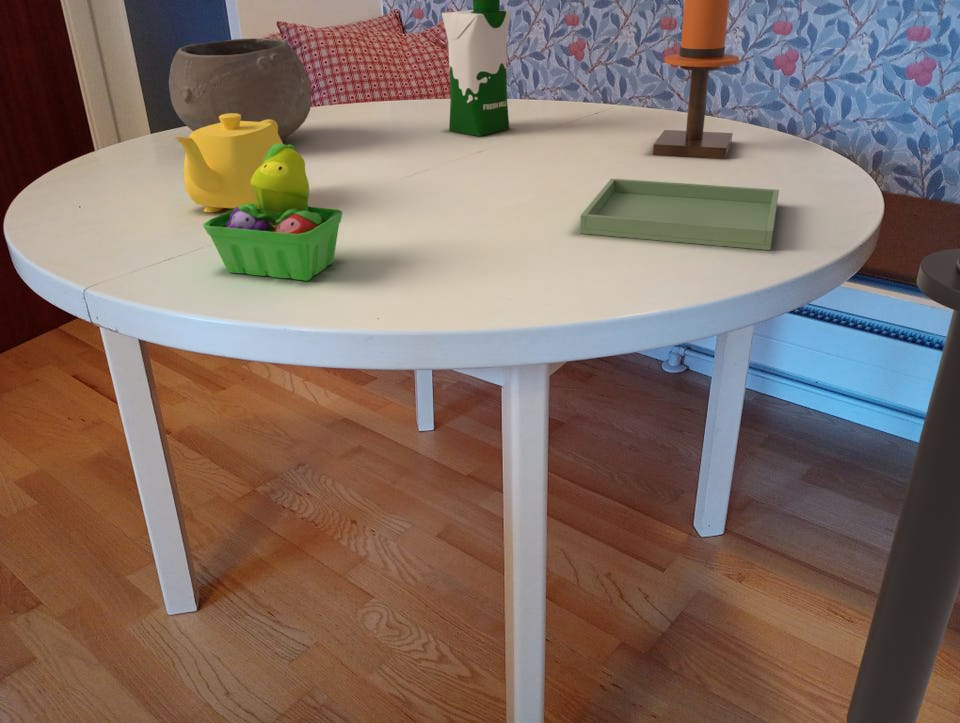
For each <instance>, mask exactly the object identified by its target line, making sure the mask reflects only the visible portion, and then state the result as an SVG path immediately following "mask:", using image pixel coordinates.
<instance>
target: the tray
mask: <svg viewBox="0 0 960 723" xmlns="http://www.w3.org/2000/svg"><path fill="white" fill-rule="evenodd" d="M599 191H600V192H598V194H597V195H596V196H595V198H593V200H592V201H591V202H590V203H589V205H588V206H587V207H585V208H586V209H585V210H584V211H583V212H582V213H581V214H580V221H579V222H580V224H579V225H580V226H579V227H580V228H579V233H580V234H583V235H594V236H606V237H617V238H628V239H639V240H651V241H659V242H661V241H662V242H673V243H683V244H693V245H694V244H695V245H707V246H716V247H717V246H719V247H729V248H738V249H740V248H741V249H749V250H752V249H753V250H763V251H771V248H772V241H773V236H774V235H773V234H774V230H775V222H776V214H777V209H778V208H777V207H778V200H779V193H780V189H773V188H759V187H745V186H743V187H742V186H727V185H713V184H699V183H686V182H685V183H684V182H683V183H682V182H669V181H668V182H667V181H654V180H642V179H641V180H640V179H639V180H637V179H623V178H610V179H609V180H608V182H607V183H605V185H604V186H603V187H602V189H601V190H599Z"/></svg>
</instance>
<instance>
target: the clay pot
mask: <svg viewBox="0 0 960 723" xmlns="http://www.w3.org/2000/svg"><path fill="white" fill-rule="evenodd" d="M307 74H308V73H307V71H306V69H305V66H304V64H303V62H302V61H301V58H300V56H298V54H297V52H296V51H295V49H294V48H293V47H292V46H291V45H290V44H289V43H288V42H287V41H285V39H281V38H234V39H227V40H219V41H211V42H202V43H193V44H188V45H184V46H183V47H179V48H178V50H177V51H176V52H175V55H174V56H173V58H172V61H171V64H170V70H169V77H168V91H169V96H170V101H171V105H172V108H173V109H174V112H175V113H176V115H177V116H178V118H179V119H180V120H181V121H182V122H183V124H185V126H186V127H187V128H188V129H189V130H191V131H192V132H193V131H195V130H197V129H200V128H203V127H206V126H209V125H213V124H217V123H221V121H220V119H219V116H220V115H223V114H229V113H237V114H240V115H241V120H240V121H253V122H261V121H263V120H267V119H271V120H274V121H276V123H277V125H278V135H279V137H280V139H281V140H282V141H283V140H284V139H286V138H288V137H289V136H291V135H292V134H294V133H295V132H296V131H298V130H299V128H300V127H302V125H303V124H304V123H305V121H306V120H307V118H308V116H309V114H310V111H311V108H312V107H311V106H312V87H311V83H310V79H309V76H308V75H307Z"/></svg>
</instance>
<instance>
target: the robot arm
mask: <svg viewBox="0 0 960 723" xmlns="http://www.w3.org/2000/svg"><path fill="white" fill-rule="evenodd" d="M956 270H957V272H958V273H959V274H960V257H959V258H958V260H957V264H956Z"/></svg>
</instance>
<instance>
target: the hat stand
mask: <svg viewBox="0 0 960 723" xmlns="http://www.w3.org/2000/svg"><path fill="white" fill-rule="evenodd" d="M722 67H723V66H718V67H688V66H679V69H680V70H681V69H682V70H684V71H690V81H689V82H690V83H689V95H688V104H687V105H688V106H687V116H686V125H685V126H686V128H685V130H679V129H678V130H676V129H664V130H663V131H662V132H661V133H660V135H659V137H658V138H657V139H656V140H655V141H654V143H653V146H652V155H653V156H669V157H684V158H685V157H687V158H688V157H689V158H704V159H721V160H726V158H727V155H728V153H729V150H730V148H731V145H732V142H733V132H720V131H719V132H717V131H704V126H705V117H706V107H707V99H708V98H707V96H708V89H709V88H708V86H709V77H710V76H709V75H710V72H711V71H718V70H721V69H722Z"/></svg>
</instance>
